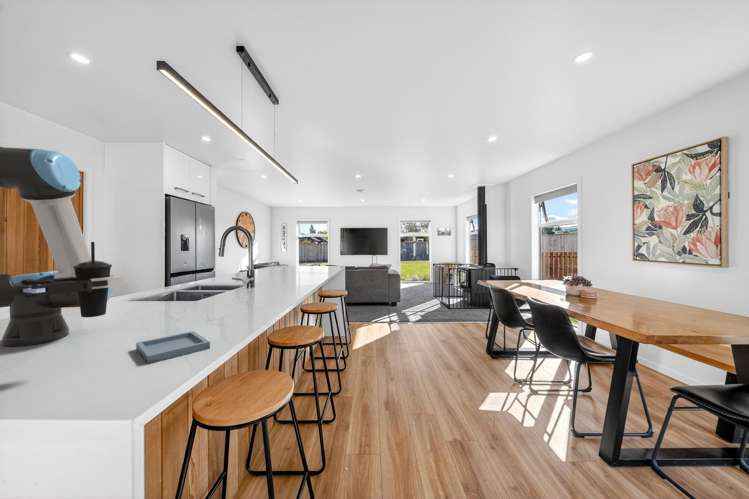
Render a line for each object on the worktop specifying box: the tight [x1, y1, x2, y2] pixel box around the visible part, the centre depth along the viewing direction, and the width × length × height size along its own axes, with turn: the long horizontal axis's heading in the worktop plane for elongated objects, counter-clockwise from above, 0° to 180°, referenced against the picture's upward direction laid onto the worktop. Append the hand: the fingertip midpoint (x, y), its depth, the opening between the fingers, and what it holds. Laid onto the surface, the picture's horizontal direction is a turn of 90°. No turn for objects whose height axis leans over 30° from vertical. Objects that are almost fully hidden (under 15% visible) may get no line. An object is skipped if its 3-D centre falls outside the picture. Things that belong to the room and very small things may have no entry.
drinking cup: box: [73, 241, 113, 318], centre depth 79 cm, size 8×8×20 cm
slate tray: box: [135, 330, 211, 365], centre depth 93 cm, size 16×16×2 cm
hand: (117, 280), depth 84 cm, fingers closed on drinking cup, 6 cm apart
